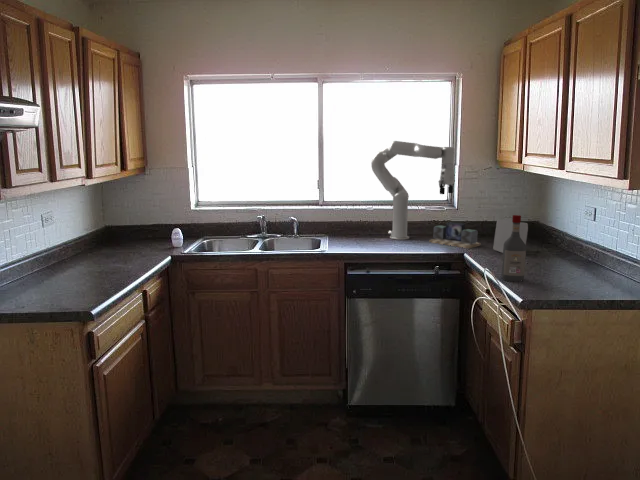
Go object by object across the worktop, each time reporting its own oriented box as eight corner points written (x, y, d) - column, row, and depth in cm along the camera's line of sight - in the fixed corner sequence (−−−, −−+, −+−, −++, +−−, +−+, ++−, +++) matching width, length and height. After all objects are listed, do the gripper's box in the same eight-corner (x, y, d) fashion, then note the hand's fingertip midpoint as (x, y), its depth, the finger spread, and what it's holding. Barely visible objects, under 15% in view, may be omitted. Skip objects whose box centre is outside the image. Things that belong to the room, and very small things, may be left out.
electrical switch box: (528, 255, 318) (533, 221, 317) (516, 255, 308) (521, 220, 307) (505, 251, 329) (509, 218, 327) (492, 251, 319) (497, 217, 317)
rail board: (429, 242, 347) (429, 226, 345) (441, 239, 357) (442, 224, 355) (468, 248, 327) (469, 232, 326) (480, 245, 337) (481, 229, 335)
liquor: (524, 282, 249) (529, 217, 244) (503, 281, 251) (508, 216, 245) (520, 277, 258) (525, 214, 253) (500, 276, 260) (504, 214, 254)
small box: (444, 239, 342) (445, 223, 340) (448, 238, 347) (449, 222, 345) (461, 241, 336) (461, 224, 334) (464, 240, 341) (465, 223, 339)
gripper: (445, 167, 338) (443, 194, 341) (459, 166, 350) (458, 193, 353) (434, 166, 343) (433, 194, 346) (449, 166, 355) (448, 192, 358)
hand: (446, 193), depth 350 cm, fingers open, 9 cm apart
